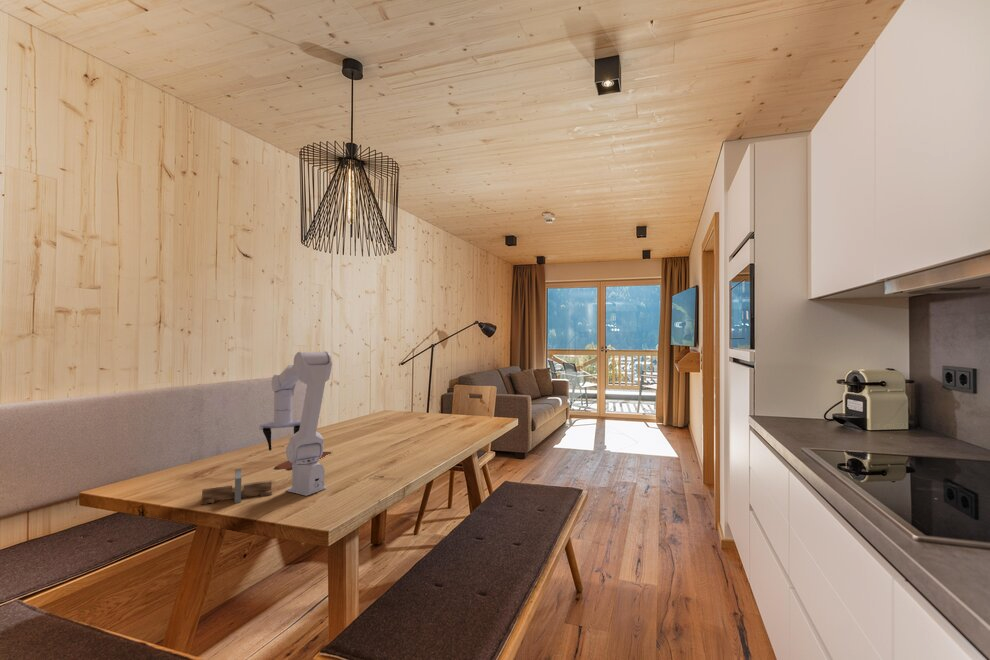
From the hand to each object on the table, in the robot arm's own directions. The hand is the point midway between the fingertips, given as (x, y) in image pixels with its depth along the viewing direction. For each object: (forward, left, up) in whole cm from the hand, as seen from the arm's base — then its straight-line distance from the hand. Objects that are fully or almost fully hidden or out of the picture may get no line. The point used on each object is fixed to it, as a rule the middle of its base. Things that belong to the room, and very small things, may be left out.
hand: (282, 448), depth 157 cm
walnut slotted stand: (-6, +20, -9) cm, 23 cm away
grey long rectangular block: (-6, +20, -9) cm, 23 cm away
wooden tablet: (+9, -18, -10) cm, 22 cm away
